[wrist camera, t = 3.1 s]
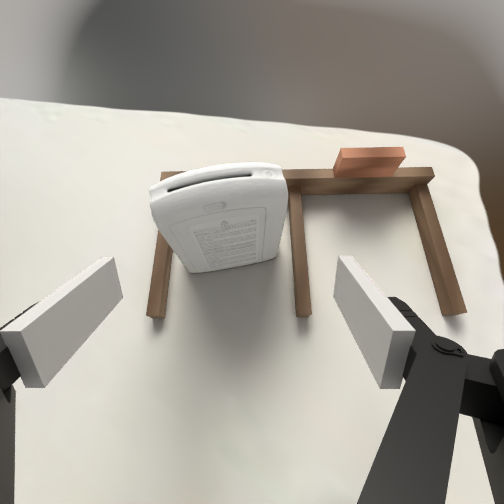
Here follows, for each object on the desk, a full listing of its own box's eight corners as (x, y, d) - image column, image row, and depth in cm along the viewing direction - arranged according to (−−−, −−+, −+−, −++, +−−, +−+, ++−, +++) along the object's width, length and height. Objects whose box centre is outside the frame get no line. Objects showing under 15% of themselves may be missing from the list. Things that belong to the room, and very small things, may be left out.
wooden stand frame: (152, 317, 26) (123, 306, 20) (169, 188, 32) (151, 151, 26) (455, 315, 25) (510, 302, 20) (416, 184, 31) (450, 146, 26)
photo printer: (274, 224, 30) (284, 138, 18) (283, 260, 28) (301, 189, 16) (182, 241, 29) (132, 164, 17) (186, 279, 27) (134, 219, 16)
